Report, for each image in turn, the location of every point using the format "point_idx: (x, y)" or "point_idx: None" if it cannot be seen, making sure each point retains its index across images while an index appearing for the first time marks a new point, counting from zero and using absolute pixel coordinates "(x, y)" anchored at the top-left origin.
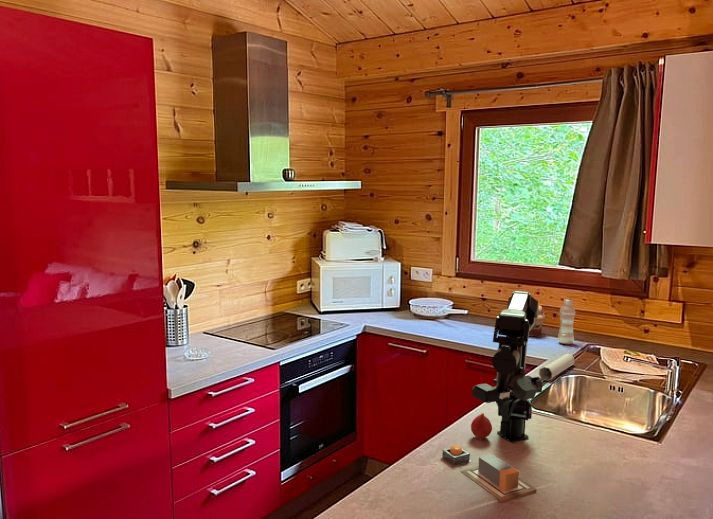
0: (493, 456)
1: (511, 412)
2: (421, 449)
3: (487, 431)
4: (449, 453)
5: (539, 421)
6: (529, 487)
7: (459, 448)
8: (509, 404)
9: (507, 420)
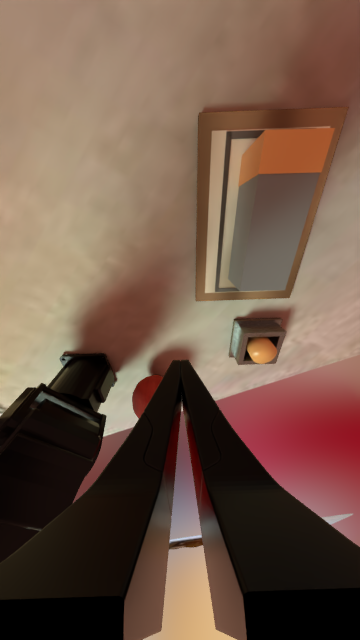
0: (247, 276)
1: (160, 392)
2: (269, 382)
3: (153, 383)
4: (278, 347)
5: (10, 391)
6: (213, 133)
7: (259, 351)
8: (169, 460)
9: (179, 361)
